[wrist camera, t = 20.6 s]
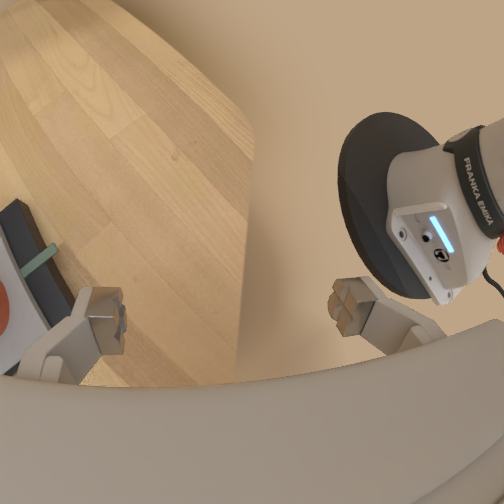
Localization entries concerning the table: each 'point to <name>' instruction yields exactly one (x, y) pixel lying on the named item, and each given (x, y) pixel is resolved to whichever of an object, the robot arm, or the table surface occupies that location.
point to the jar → (3, 308)
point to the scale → (28, 285)
